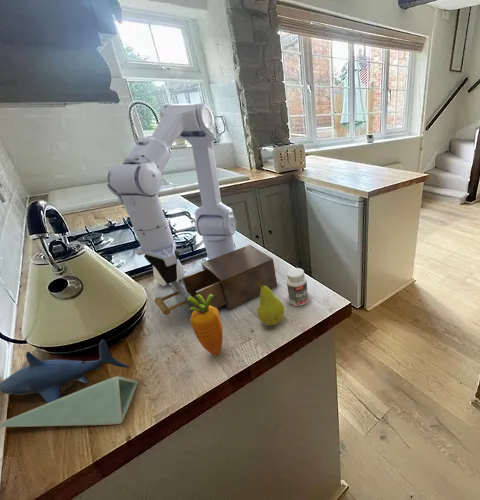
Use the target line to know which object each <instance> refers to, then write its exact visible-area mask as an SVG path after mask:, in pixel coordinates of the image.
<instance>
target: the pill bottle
mask: <svg viewBox="0 0 480 500" xmlns="http://www.w3.org/2000/svg"><path fill="white" fill-rule="evenodd" d="M286 276H287V280H286V286H287V287H286V288H287V294H288V301H289V304H290V305H291V306H296V307H301V306H303V305H305V304H307V303H308V301H309V294H308V282H307V278H306V277H305V276H306V275H305V271H304V269H302V268H300V267H294V268H290V269H289V270H288V271H287V273H286Z"/></svg>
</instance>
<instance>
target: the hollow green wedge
mask: <svg viewBox="0 0 480 500" xmlns="http://www.w3.org/2000/svg"><path fill="white" fill-rule="evenodd" d="M138 383H139V381H138V380H136V379H132V378H128V377H124V376H118V375H117V376H113V377H110V378H107V379H105V380H103V381H100V382H96V383H95V384H92V385H90V386H88V387H84V388H83V389H82V388H81V389H80V390H78V391H74V392H72V393H70V394H68V395H64V396H62V397H60V399H57V400H55V401H52V402H50V403H47V402H46V403H45V404H42V405H39V406H37V407H35V408H32V409H30V410H28V411H25V412H23V413H20V414H18V415H15V416H12V417H10V418H7V419H5V420H3V421H1V422H0V428H21V427H22V428H25V427H27V428H28V427H31V428H32V427H71V426H72V427H73V426H74V427H75V426H77V427H78V426H107V425H109V426H110V425H121V424H122V423H123V422H124V421H125V417H126V415H127V413H128V410H129V407H130V405H131V402H132V400H133V397H134V394H135V392H136V389H137V386H138V385H139V384H138Z"/></svg>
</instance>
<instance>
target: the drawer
mask: <svg viewBox="0 0 480 500" xmlns="http://www.w3.org/2000/svg"><path fill="white" fill-rule="evenodd" d="M181 281H182V282H183V285H184V287H183V285H182V284H181V283H180V281H179V282H178V281H174V282H171V283H170V284H171V285H170V284H169V285H170V286H171V289H172V291H173V292H172V293H169V294H167V295H164V296H162V297H160V296H158V297H155V298H154V300H153V301H154V303H155V304H156V306H157V307H158V308H159V310H160V312H161V313H162V314H163V315H166V316H168V315H169V314H170V313H171V311H174V310H176V309H179V308H181V309H182V310H183V312H184V313H185V314H186V315H187V316H188V317H189V319H191V315H192V313H193V312H194V311H195V310H190V308H191V307H196V306H195V305H193V304H192V303H190V302H189V301H187V299H188V297H190V296H192V297H193V298H195V299H196V300H197V301H198V302H199V303H200V304H201V302H200V301H199V300H198V298H197V297H196V295H199V294H200V295H201V296H202V297H203V299H204V300H205V303H206V300H207V297H208V296H209V295H210V294H211V295H213V298H212V300H211V302H210V306H212V307H215V308H217V309H219V308H221V307H223V306H225V304H227V302H226V298H225V294H224V290H223V287H222V282H220V281H219V280H218V279H217V278H216V277H215V276H213V275H212V274H211V273H210V272H209V271H208V270H207V269H203V268H202V269H200V270H197V271H195V272H192V273H189V274H186V275H184V277H182V280H181ZM173 297H175V300H176V304H173V305H171V306H168V305H167V303H165V301H166V300H169V299H170V298H171V299H172V298H173ZM201 305H202V304H201Z"/></svg>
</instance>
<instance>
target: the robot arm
mask: <svg viewBox="0 0 480 500" xmlns="http://www.w3.org/2000/svg"><path fill="white" fill-rule="evenodd" d="M159 117H160V120H159V122H158V124H157V126H156V127H155V129H154V131H153V132H152V135H151V136H150V137H147V136H146V137H141V138H138V139H137V140H136V145H135V146H134V147H133V149H132V150H131V152H129V154H127V156H126V157H125V159H124V160H123V162H122V163H118V164H115V165H113V166H111V168H110V169H109V170H108V172H107V175H106V181H107V183H106V187H107V189H108V190H109V191H110V192H111V193H112V194H113V195H114V196H116V197H117V199H118V201H119V204H121V205H122V206H124V209H125V210H126V213H127V215H128V218H129V220H130V223H131V226H132V227H133V230H134V232H135V235H136V237H137V240H138V242H139V245H140V247H138V248H136V249H134V252H135V254H136V255H137V256H142V255H143V257H144V258H145V260H146V261H147V262H148V263H149V264H150V265H151V266H152V265H153V266H154V267H155V268H156V269H157V271H158V272H159V274H160V275H161V277H162V278H163V280H164V281H165V282H166V283H167V285H170V284H169V283H171V282H174V281H177V263H178V261H177V260H178V259H179V258H180V253H179V252H178V251H177V249H176V250H175V244H176V242H174V241H175V239H174V238H173V239H172V237H173V235H172V236H171V234H172V232H171V233H170V231H171V229H170V230H169V228H170V226H169V227H168V224H167V221H168V220H167V221H166V219H167V218H166V216H165V213H164V209H163V207H162V204H161V201H160V198H159V194H158V192H160V190H161V186H162V185H161V184H162V183H161V180H162V175H163V174H162V172H163V170H164V168H165V167H166V166H167V164H168V162H169V161H170V158H171V151H170V148H171V147H172V146H173V144H174V143H175V141H176V140H177V139H178V138H180V139H181V140H184V141H187V143H189V145H190V146H191V148H192V154H193V159H194V167H195V172H196V178H197V184H198V190H199V195H200V200H201V205H200V206H199V207H198V208H197V209H196V210H195V211H194V215H195V216H194V217H195V219H194V228H195V232H196V233H197V234H198V235H199V236H200V237H202V240H203V245H204V248H205V251H206V256H207V257H206V258H205V259H204V260H205V261H208V260H211V259H213V258H216V257H219V256H221V255H224V254H227V253H229V252H232V251H235V250H236V247H235V243H234V238H233V236H234V234H235V233H236V231H237V220H236V218H235V215H234V211H233V209H232V208H231V207H230V206H227V204H224V203H222V197H221V189H220V183H219V176H218V171H217V170H218V169H217V161H216V155H215V149H214V141H215V140H216V139H217V134H216V132H217V131H216V125H215V119H214V114H213V112H212V111H211V109H210V108H209V107H208V105H206V103H203V102H200V103H164V104H163V105H162V107H161V108H160V109H159ZM205 261H204V262H205ZM153 266H152V267H153Z"/></svg>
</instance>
